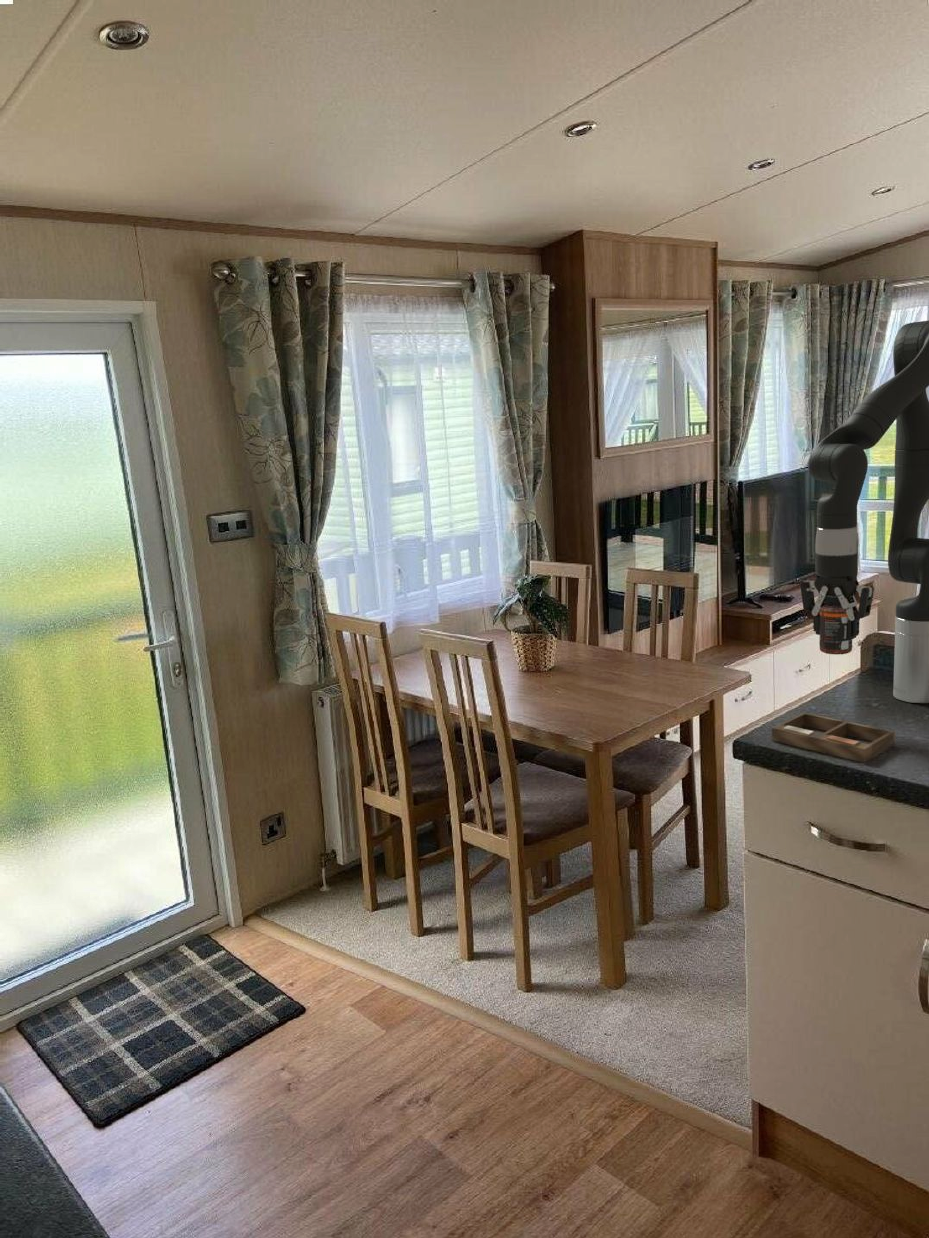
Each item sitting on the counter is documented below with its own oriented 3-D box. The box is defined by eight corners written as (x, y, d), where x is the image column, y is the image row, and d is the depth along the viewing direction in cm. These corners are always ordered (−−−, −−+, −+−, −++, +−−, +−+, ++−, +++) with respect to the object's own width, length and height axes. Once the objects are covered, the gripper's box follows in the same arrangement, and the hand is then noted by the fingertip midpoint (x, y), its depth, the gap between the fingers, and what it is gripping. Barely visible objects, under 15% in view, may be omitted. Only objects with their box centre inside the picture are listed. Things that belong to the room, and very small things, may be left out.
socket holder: (894, 744, 173) (894, 729, 172) (864, 762, 166) (864, 747, 165) (803, 724, 187) (803, 710, 186) (771, 740, 179) (771, 726, 179)
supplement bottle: (855, 655, 180) (855, 597, 178) (822, 656, 182) (822, 598, 179) (849, 647, 186) (849, 590, 184) (817, 647, 187) (817, 591, 185)
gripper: (883, 549, 177) (881, 636, 180) (811, 545, 187) (811, 627, 191) (863, 556, 172) (862, 645, 176) (791, 551, 183) (791, 635, 186)
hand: (835, 635), depth 183 cm, fingers closed on supplement bottle, 6 cm apart
